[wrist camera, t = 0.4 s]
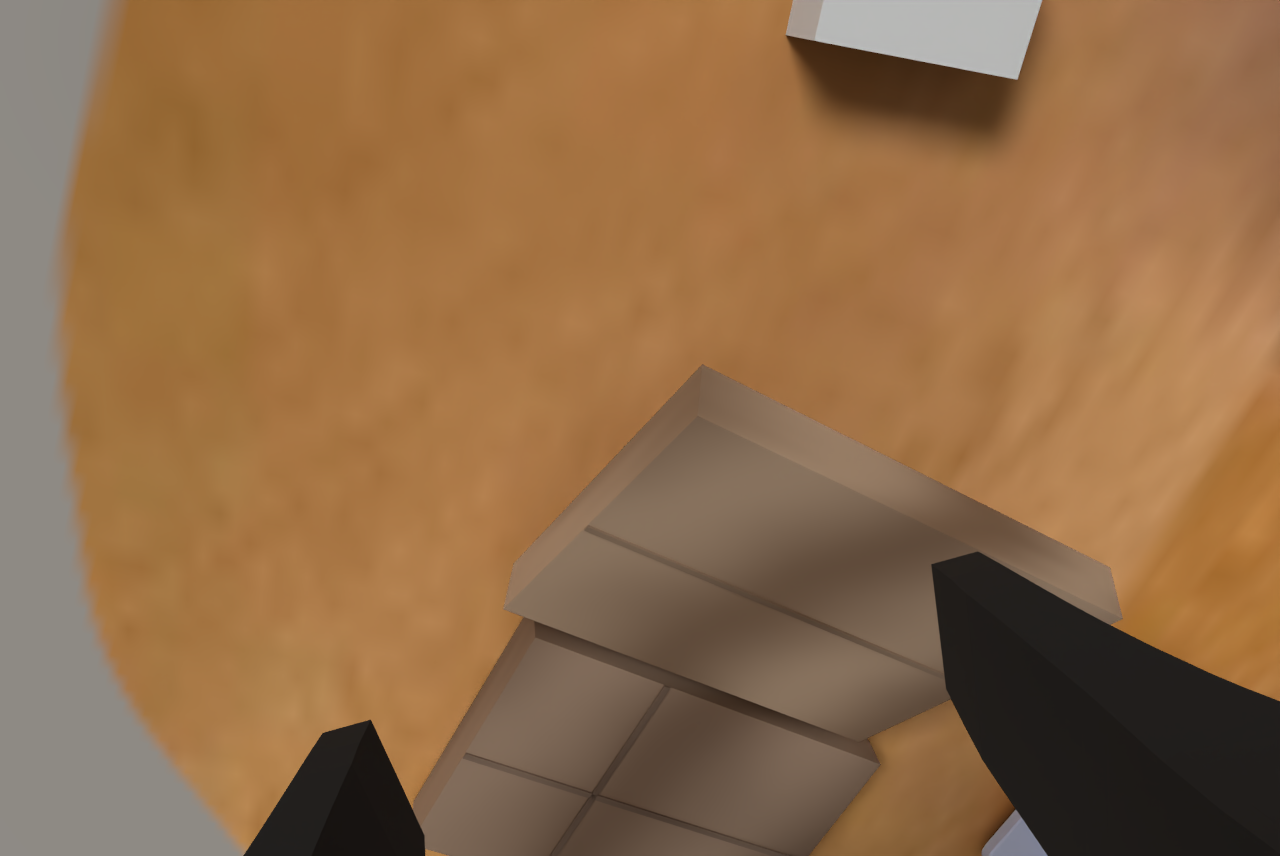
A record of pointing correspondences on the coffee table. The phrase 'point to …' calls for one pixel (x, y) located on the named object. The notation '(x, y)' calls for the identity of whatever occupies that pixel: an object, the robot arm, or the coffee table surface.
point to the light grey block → (925, 30)
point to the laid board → (629, 763)
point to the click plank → (777, 561)
